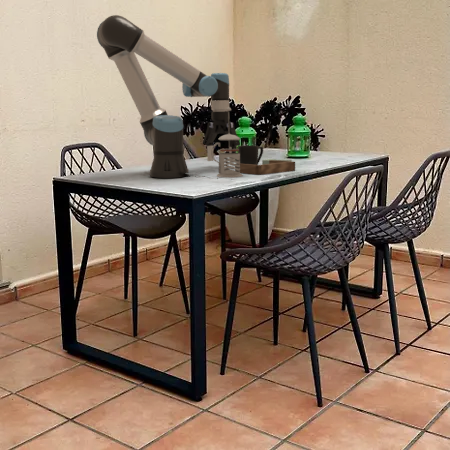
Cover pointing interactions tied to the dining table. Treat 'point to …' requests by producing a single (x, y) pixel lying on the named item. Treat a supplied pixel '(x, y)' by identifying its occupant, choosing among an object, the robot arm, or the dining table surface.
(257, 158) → the mug
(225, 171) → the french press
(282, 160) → the t block
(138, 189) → the dining table surface
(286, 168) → the brown wooden tray
